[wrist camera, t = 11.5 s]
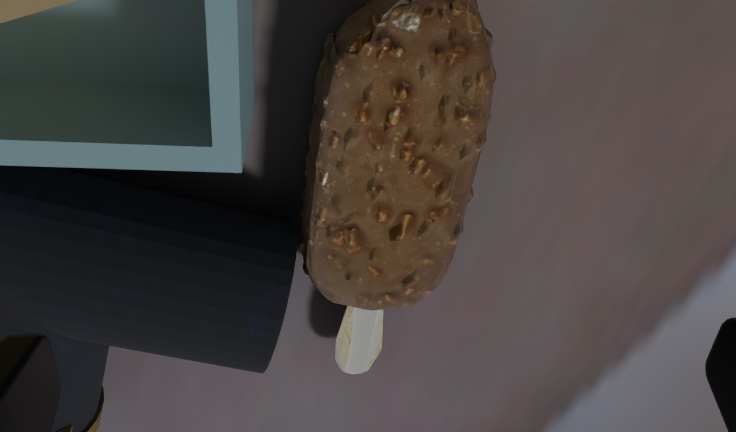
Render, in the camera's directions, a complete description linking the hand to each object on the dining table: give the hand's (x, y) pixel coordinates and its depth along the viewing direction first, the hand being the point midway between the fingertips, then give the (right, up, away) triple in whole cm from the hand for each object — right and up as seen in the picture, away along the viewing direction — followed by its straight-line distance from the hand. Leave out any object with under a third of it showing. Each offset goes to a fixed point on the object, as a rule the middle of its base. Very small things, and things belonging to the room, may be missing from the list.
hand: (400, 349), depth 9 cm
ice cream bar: (0, +3, +14) cm, 14 cm away
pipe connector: (-12, 0, +15) cm, 19 cm away
